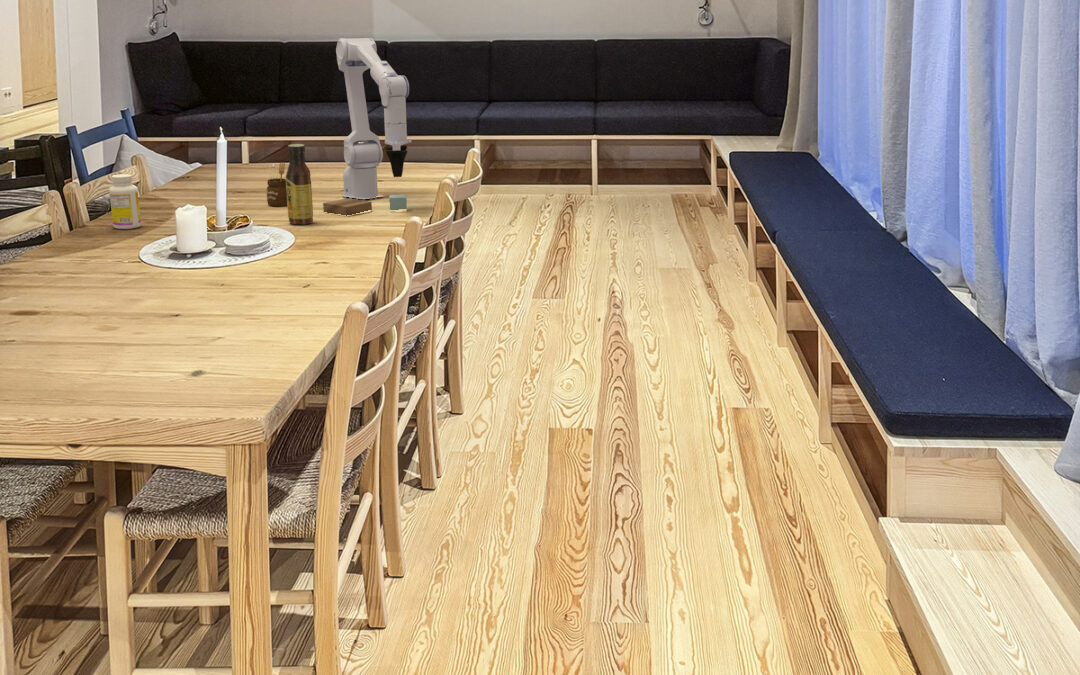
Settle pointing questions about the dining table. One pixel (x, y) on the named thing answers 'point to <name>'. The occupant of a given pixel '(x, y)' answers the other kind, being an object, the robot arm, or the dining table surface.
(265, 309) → the dining table surface
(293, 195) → the sauce bottle
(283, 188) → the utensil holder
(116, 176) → the supplement bottle
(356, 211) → the walnut slab
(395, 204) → the teal block
